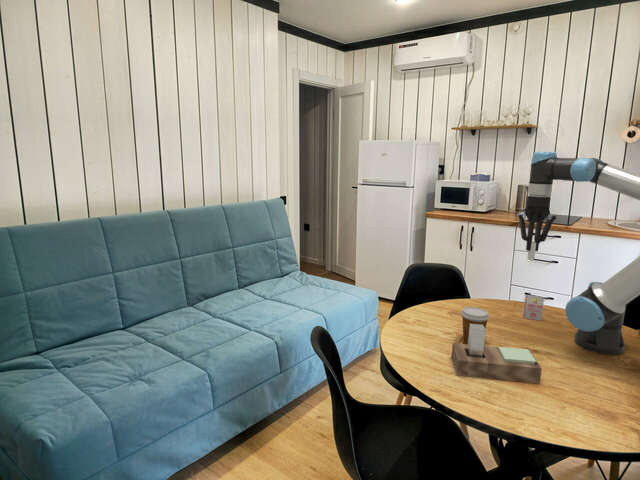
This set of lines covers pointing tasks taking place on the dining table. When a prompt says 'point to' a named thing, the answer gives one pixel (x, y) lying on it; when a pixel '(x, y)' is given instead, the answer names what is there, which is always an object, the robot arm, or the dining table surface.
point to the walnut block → (492, 366)
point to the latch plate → (517, 355)
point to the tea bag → (533, 307)
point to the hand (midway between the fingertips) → (530, 259)
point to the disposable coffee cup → (473, 319)
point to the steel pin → (476, 340)
